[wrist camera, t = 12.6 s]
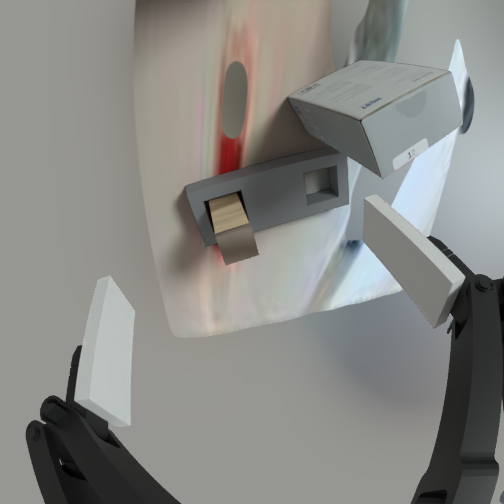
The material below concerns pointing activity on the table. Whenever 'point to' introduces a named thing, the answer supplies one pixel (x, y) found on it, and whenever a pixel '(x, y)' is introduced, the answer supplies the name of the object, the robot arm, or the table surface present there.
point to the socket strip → (273, 190)
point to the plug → (232, 229)
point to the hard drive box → (380, 111)
